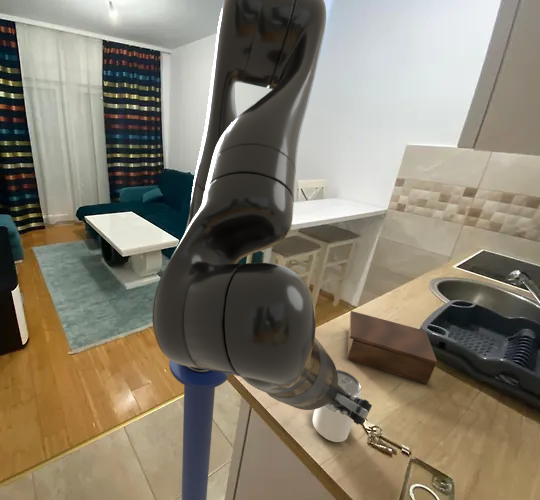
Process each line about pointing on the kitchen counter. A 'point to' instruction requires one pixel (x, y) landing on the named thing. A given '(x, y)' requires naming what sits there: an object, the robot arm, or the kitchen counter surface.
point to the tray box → (389, 361)
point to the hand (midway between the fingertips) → (321, 389)
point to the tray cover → (391, 336)
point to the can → (336, 413)
